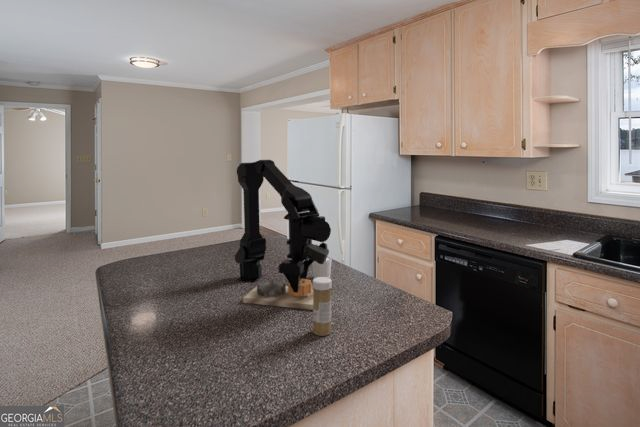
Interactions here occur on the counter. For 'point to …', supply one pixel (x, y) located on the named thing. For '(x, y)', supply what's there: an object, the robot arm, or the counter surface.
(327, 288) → the sprinkles bottle
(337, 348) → the counter surface
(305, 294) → the orange gear
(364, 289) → the counter surface
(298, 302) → the gear board
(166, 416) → the counter surface
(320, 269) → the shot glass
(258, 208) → the robot arm
